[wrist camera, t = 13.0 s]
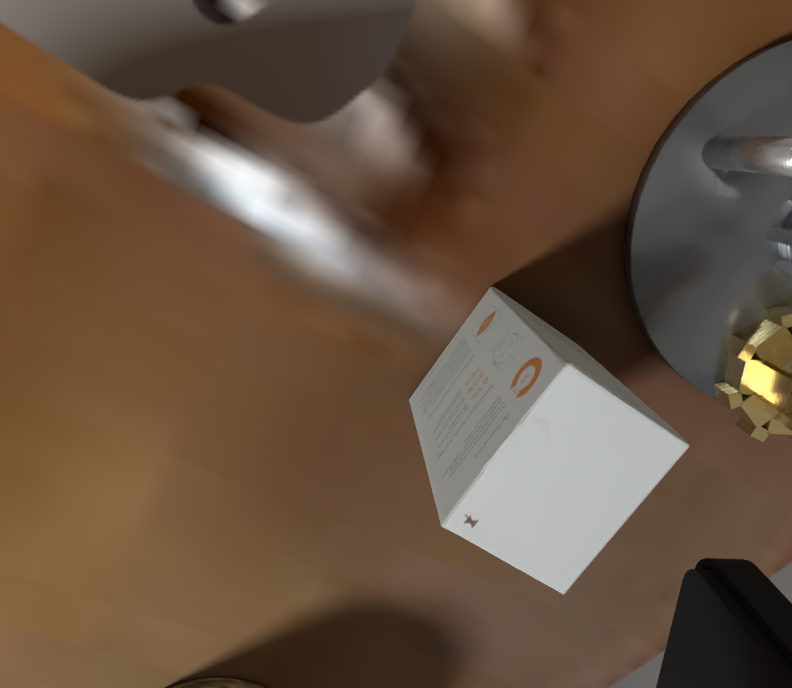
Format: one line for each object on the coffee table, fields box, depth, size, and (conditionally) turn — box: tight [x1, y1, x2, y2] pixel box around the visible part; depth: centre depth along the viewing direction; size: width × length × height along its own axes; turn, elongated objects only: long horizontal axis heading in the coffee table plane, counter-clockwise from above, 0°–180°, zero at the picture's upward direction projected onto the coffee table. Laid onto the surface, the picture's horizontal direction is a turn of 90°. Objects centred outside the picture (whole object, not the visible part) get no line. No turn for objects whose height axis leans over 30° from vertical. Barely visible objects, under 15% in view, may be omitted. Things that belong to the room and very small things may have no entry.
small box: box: [409, 287, 690, 594], centre depth 32 cm, size 8×6×13 cm
